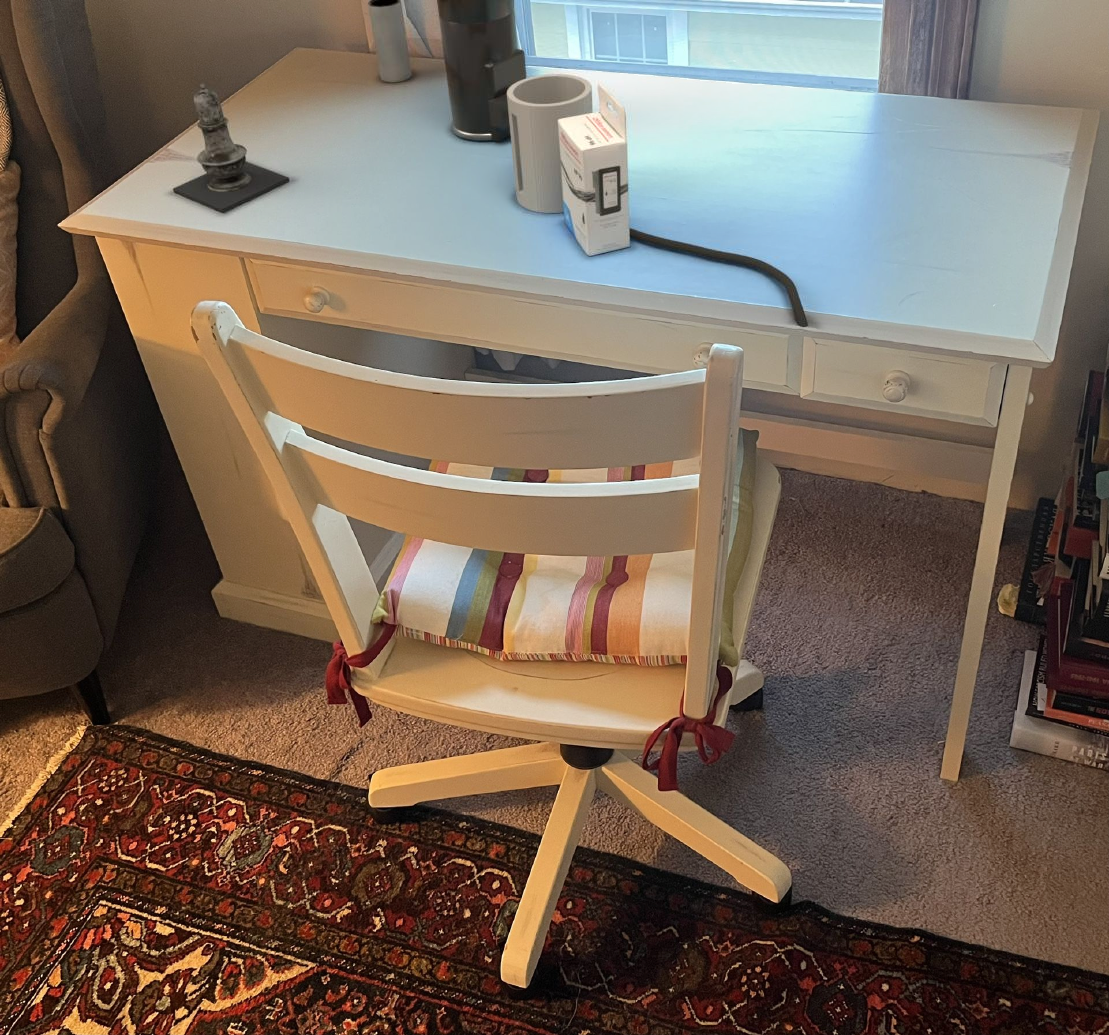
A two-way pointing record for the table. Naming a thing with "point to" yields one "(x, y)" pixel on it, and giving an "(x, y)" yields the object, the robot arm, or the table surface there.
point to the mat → (229, 200)
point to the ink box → (596, 176)
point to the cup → (542, 135)
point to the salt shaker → (219, 146)
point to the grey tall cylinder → (390, 40)
